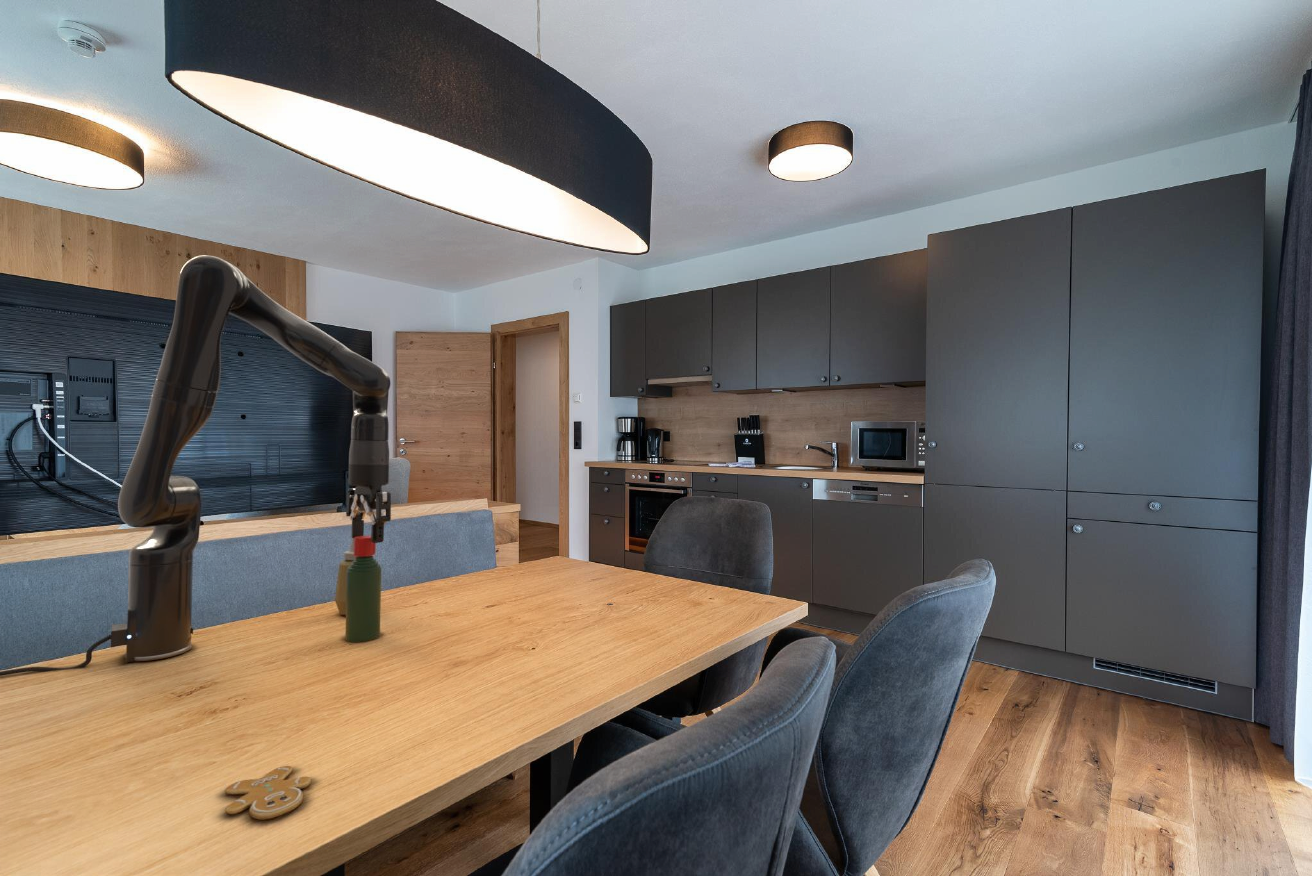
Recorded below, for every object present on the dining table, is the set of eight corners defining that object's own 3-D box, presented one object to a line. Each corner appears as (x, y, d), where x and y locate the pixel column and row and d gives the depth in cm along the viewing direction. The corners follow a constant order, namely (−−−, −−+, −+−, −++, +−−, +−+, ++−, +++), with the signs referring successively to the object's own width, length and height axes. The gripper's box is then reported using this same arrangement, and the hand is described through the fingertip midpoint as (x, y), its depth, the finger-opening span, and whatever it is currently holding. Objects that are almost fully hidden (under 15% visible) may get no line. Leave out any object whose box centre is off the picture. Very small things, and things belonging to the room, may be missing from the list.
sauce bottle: (350, 644, 115) (352, 543, 115) (341, 636, 120) (343, 539, 120) (384, 637, 119) (386, 540, 120) (374, 630, 124) (376, 536, 124)
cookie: (297, 757, 72) (326, 789, 65) (296, 765, 72) (325, 798, 65) (214, 786, 65) (236, 824, 59) (214, 794, 65) (236, 834, 59)
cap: (371, 552, 123) (372, 535, 123) (377, 555, 120) (377, 537, 120) (351, 554, 120) (351, 536, 120) (357, 557, 117) (357, 539, 117)
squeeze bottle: (379, 611, 138) (381, 535, 138) (346, 619, 131) (348, 539, 131) (360, 606, 142) (361, 532, 143) (327, 613, 135) (328, 536, 136)
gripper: (404, 463, 119) (402, 542, 119) (370, 461, 128) (368, 534, 128) (367, 463, 113) (365, 546, 113) (334, 461, 122) (332, 538, 122)
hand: (367, 540), depth 120 cm, fingers open, 8 cm apart
